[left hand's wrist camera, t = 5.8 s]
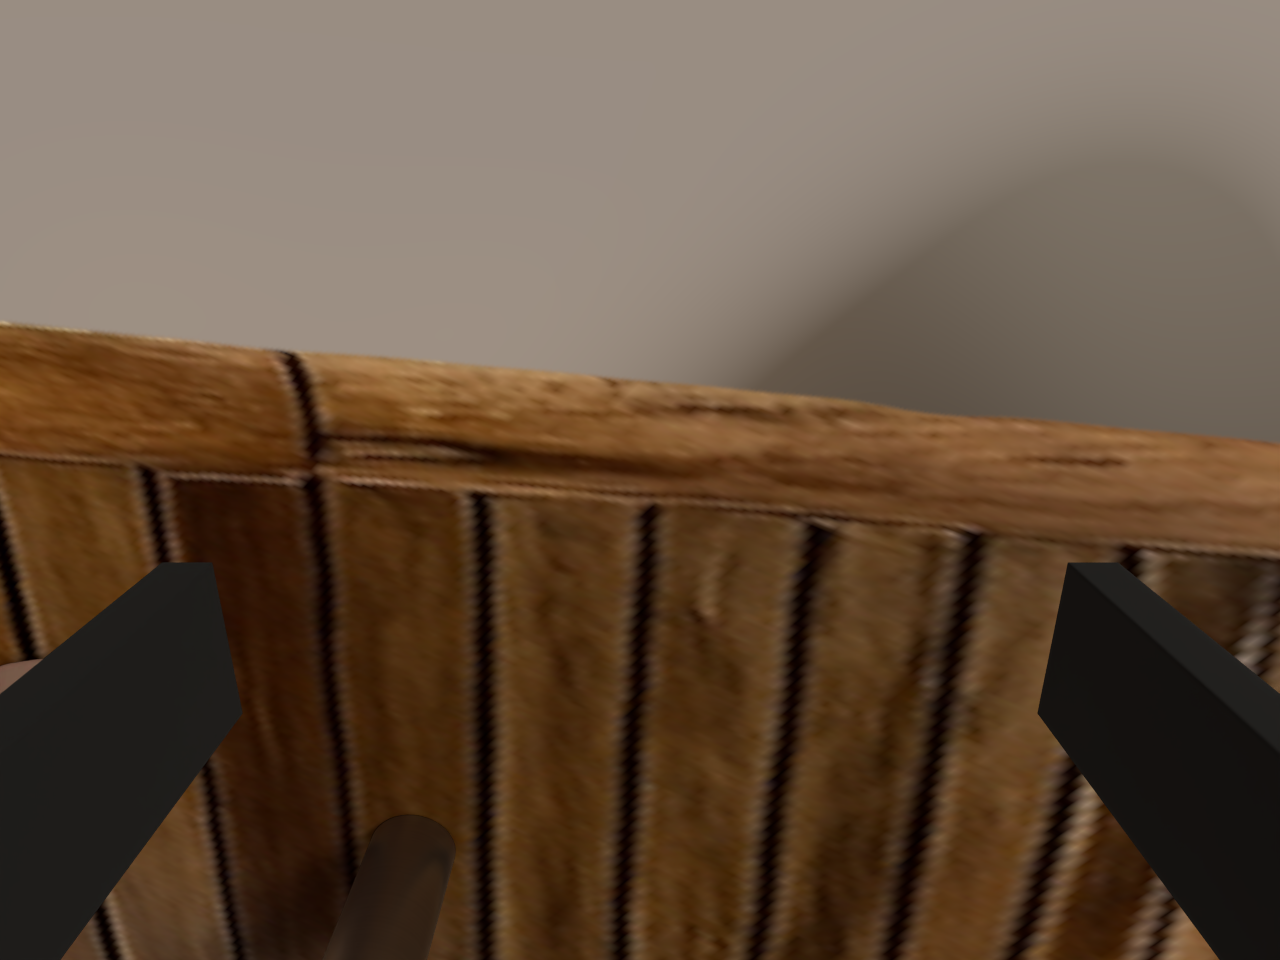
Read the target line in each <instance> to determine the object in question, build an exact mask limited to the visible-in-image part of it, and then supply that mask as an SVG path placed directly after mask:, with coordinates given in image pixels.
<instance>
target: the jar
mask: <svg viewBox="0 0 1280 960" xmlns="http://www.w3.org/2000/svg"><path fill="white" fill-rule="evenodd" d="M454 858H455V845H454V841H453V839H452V837H451V835H450V834H449V833H448V831H447V830H446V829H445V828H444V827H442V826H441V825H440V824H438V823H437V822H435V821H433V820H431V819H428V818H425V817H422V816H416V815H402V816H397V817H394V818H391V819H389V820H387V821H385V822H384V823H382V824H381V825H380V826H379V827H378V828H377V829H376V830H375V832H374V834H373V836H372V838H371V841H370V843H369V846H368V848H367V851H366V853H365V856H364V858H363V861H362V863H361V865H360V868H359V870H358V873H357V875H356V878H355V880H354V883H353V885H352V888H351V890H350V893H349V895H348V898H347V900H346V903H345V905H344V907H343V910H342V912H341V915H340V917H339V920H338V922H337V925H336V927H335V930H334V932H333V935H332V937H331V940H330V942H329V944H328V947H327V949H326V952H325V954H324V957H323V959H322V960H427V957H428V954H429V950H430V946H431V943H432V939H433V935H434V932H435V928H436V924H437V921H438V917H439V913H440V910H441V906H442V902H443V899H444V895H445V891H446V888H447V884H448V880H449V877H450V873H451V869H452V865H453V862H454Z"/></svg>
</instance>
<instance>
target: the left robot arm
mask: <svg viewBox="0 0 1280 960" xmlns="http://www.w3.org/2000/svg"><path fill="white" fill-rule="evenodd" d="M241 715H242V709H241V704H240V699H239V694H238V689H237V684H236V679H235V674H234V669H233V664H232V659H231V654H230V649H229V644H228V639H227V634H226V629H225V624H224V619H223V614H222V609H221V604H220V600H219V595H218V590H217V585H216V580H215V575H214V570H213V565H212V563H161V564H160V565H159V566H157V567H156V568H155V569H154V570H152V571H151V572H150V573H149V574H148V575H146V576H145V577H144V578H143V579H141V580H140V581H139V582H138V583H136V584H135V585H134V586H133V587H131V588H130V589H129V590H128V591H127V592H125V593H124V594H123V595H122V596H120V597H119V598H118V599H117V600H115V601H114V602H113V603H112V604H110V605H109V606H108V607H107V608H106V609H104V610H103V611H102V612H101V613H99V614H98V615H97V616H96V617H94V618H93V619H92V620H91V621H90V622H88V623H87V624H86V625H85V626H83V627H82V628H81V629H80V630H78V631H77V632H76V633H75V634H73V635H72V636H71V637H70V638H69V639H67V640H66V641H65V642H64V643H62V644H61V645H60V646H59V647H57V648H56V649H55V650H54V651H52V652H51V653H50V654H49V655H48V656H46V657H45V658H44V659H43V660H41V661H40V662H39V663H38V664H36V665H35V666H34V667H33V668H31V669H30V670H29V671H28V672H27V673H25V674H24V675H23V676H22V677H20V678H19V679H18V680H17V681H15V682H14V683H13V684H12V685H11V686H9V687H8V688H7V689H6V690H4V691H3V692H2V693H1V694H0V960H61V958H62V957H63V955H64V954H65V953H66V951H67V950H68V949H69V947H70V946H71V945H72V943H73V942H74V941H75V939H76V938H77V937H78V935H79V934H80V932H81V931H82V930H83V928H84V927H85V926H86V924H87V923H88V922H89V920H90V919H91V918H92V916H93V915H94V914H95V912H96V911H97V909H98V908H99V907H100V905H101V904H102V903H103V901H104V900H105V899H106V897H107V896H108V895H109V893H110V892H111V891H112V889H113V888H114V886H115V885H116V884H117V882H118V881H119V880H120V878H121V877H122V876H123V874H124V873H125V872H126V870H127V869H128V868H129V866H130V865H131V863H132V862H133V861H134V859H135V858H136V857H137V855H138V854H139V853H140V851H141V850H142V849H143V847H144V846H145V845H146V843H147V842H148V840H149V839H150V838H151V836H152V835H153V834H154V832H155V831H156V830H157V828H158V827H159V826H160V824H161V823H162V822H163V820H164V819H165V817H166V816H167V815H168V813H169V812H170V811H171V809H172V808H173V807H174V805H175V804H176V803H177V801H178V800H179V799H180V797H181V796H182V794H183V793H184V792H185V790H186V789H187V788H188V786H189V785H190V784H191V782H192V781H193V780H194V778H195V777H196V776H197V774H198V773H199V771H200V770H201V769H202V767H203V766H204V765H205V763H206V762H207V761H208V759H209V758H210V757H211V755H212V754H213V753H214V751H215V750H216V748H217V747H218V746H219V744H220V743H221V742H222V740H223V739H224V738H225V736H226V735H227V734H228V732H229V731H230V730H231V728H232V727H233V725H234V724H235V723H236V721H237V720H238V719H239V717H240V716H241ZM1038 715H1039V716H1040V717H1041V719H1042V720H1043V721H1044V723H1045V724H1046V725H1047V727H1048V728H1049V730H1050V731H1051V732H1052V734H1053V735H1054V736H1055V738H1056V739H1057V740H1058V742H1059V743H1060V744H1061V746H1062V747H1063V748H1064V750H1065V751H1066V753H1067V754H1068V755H1069V757H1070V758H1071V759H1072V761H1073V762H1074V763H1075V765H1076V766H1077V767H1078V769H1079V770H1080V771H1081V773H1082V774H1083V776H1084V777H1085V778H1086V780H1087V781H1088V782H1089V784H1090V785H1091V786H1092V788H1093V789H1094V790H1095V792H1096V793H1097V794H1098V796H1099V797H1100V799H1101V800H1102V801H1103V803H1104V804H1105V805H1106V807H1107V808H1108V809H1109V811H1110V812H1111V813H1112V815H1113V816H1114V817H1115V819H1116V820H1117V822H1118V823H1119V824H1120V826H1121V827H1122V828H1123V830H1124V831H1125V832H1126V834H1127V835H1128V836H1129V838H1130V839H1131V840H1132V842H1133V843H1134V845H1135V846H1136V847H1137V849H1138V850H1139V851H1140V853H1141V854H1142V855H1143V857H1144V858H1145V859H1146V861H1147V862H1148V863H1149V865H1150V866H1151V868H1152V869H1153V870H1154V872H1155V873H1156V874H1157V876H1158V877H1159V878H1160V880H1161V881H1162V882H1163V884H1164V885H1165V886H1166V888H1167V889H1168V891H1169V892H1170V893H1171V895H1172V896H1173V897H1174V899H1175V900H1176V901H1177V903H1178V904H1179V905H1180V907H1181V908H1182V909H1183V911H1184V912H1185V914H1186V915H1187V916H1188V918H1189V919H1190V920H1191V922H1192V923H1193V924H1194V926H1195V927H1196V928H1197V930H1198V931H1199V932H1200V934H1201V935H1202V937H1203V938H1204V939H1205V941H1206V942H1207V943H1208V945H1209V946H1210V947H1211V949H1212V950H1213V951H1214V953H1215V954H1216V955H1217V957H1218V958H1219V960H1280V694H1279V693H1278V692H1277V691H1276V690H1274V689H1273V688H1272V687H1271V686H1269V685H1268V684H1267V683H1266V682H1265V681H1263V680H1262V679H1261V678H1260V677H1258V676H1257V675H1256V674H1255V673H1253V672H1252V671H1251V670H1250V669H1249V668H1247V667H1246V666H1245V665H1244V664H1242V663H1241V662H1240V661H1239V660H1237V659H1236V658H1235V657H1234V656H1232V655H1231V654H1230V653H1229V652H1228V651H1226V650H1225V649H1224V648H1223V647H1221V646H1220V645H1219V644H1218V643H1216V642H1215V641H1214V640H1213V639H1211V638H1210V637H1209V636H1208V635H1207V634H1205V633H1204V632H1203V631H1202V630H1200V629H1199V628H1198V627H1197V626H1195V625H1194V624H1193V623H1192V622H1190V621H1189V620H1188V619H1187V618H1186V617H1184V616H1183V615H1182V614H1181V613H1179V612H1178V611H1177V610H1176V609H1174V608H1173V607H1172V606H1171V605H1170V604H1168V603H1167V602H1166V601H1165V600H1163V599H1162V598H1161V597H1160V596H1158V595H1157V594H1156V593H1155V592H1153V591H1152V590H1151V589H1150V588H1149V587H1147V586H1146V585H1145V584H1144V583H1142V582H1141V581H1140V580H1139V579H1137V578H1136V577H1135V576H1134V575H1132V574H1131V573H1130V572H1129V571H1128V570H1126V569H1125V568H1124V567H1123V566H1121V565H1120V564H1119V563H1068V565H1067V570H1066V575H1065V580H1064V585H1063V590H1062V595H1061V600H1060V604H1059V609H1058V614H1057V619H1056V624H1055V629H1054V634H1053V639H1052V644H1051V649H1050V654H1049V659H1048V664H1047V669H1046V674H1045V679H1044V684H1043V689H1042V694H1041V699H1040V704H1039V709H1038Z"/></svg>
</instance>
